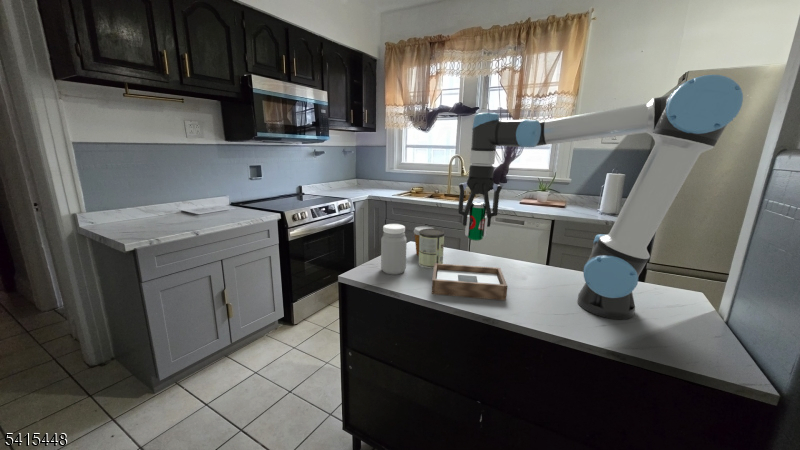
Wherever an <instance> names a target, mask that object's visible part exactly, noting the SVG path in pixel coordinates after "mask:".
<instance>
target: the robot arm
mask: <svg viewBox="0 0 800 450" xmlns="http://www.w3.org/2000/svg"><path fill="white" fill-rule="evenodd" d="M743 102H744V94H743V90H742V88H741V87H740V85H739V83H737V82H736V81H735V80H734V79H732V78H730V77H728V76H726V75H721V74H705V75H701V76H697V77H693V78H691V79H689V80H687V81H684V82H683V83H682V84H680V85H679V86H678V87H677V88H676V89H674V90H673V92H672V93H671V94H668V95H664V96H663V95H662V96H660V97H654V98H651V100H649V102H647V103H641V104H636V105H629V106H625V107H624V106H623V107H618V108H613V109H606V110H600V111H594V112H588V113H587V112H586V113H582V114H576V115H570V116H565V117H563V116H562V117H558V118H551V119H546V120H539V121H538V120H537V119H528V118H526V119H507V120H504V119H500V115H499V114H498V113H495V112H479V113H477V114H475V115H474V117H473V124H472V128H471V129H472V132H471V133H472V134H471V148H470V150H471V151H470V158H469V163H470V165H469V171H468V179H467V181H465V182H463V183H461V182H460V183H458V188H459V198H458V209H457V212H458V214H459V215H461V216H462V225H463V227H464V235H465V237H467V236H468V232H469V221H470V216H469V213H470V207H471V205H472V203H474V199H475V197H476V195H482V196H483V197H482V198H483V203H484V204H485V207H486V212H485V222H484V232H483V238H486V237H487V229H488V227H489V228H490V227H491V220H492V218H493V217H497V216H498V213H499V212H498V210H499V201H500V193H501V191H502V188H503V187H502V186H501V185H500V184H496V183H494V179H493V178H494V169H495V167H494V166H493V165H495V161H496V160H495V159H496V150H497V146H498V147H514V148H515V147H516V148H517V147H518V148H535V147H538V146H539V147H540V146H546V145H554V144H556V145H557V144H565V143H571V142H579V141H588V140H595V139H597V140H598V139H604V138H605V139H606V138H612V137H622V136H632V135H638V134H648V135H650V136H651V137H652V139H653V140H654V145H653V147H652V150H651V151H650V154H649V155H648V157H647V159H646V161H645V163H644V165H643V167H642V169H641V171H640V172H639V174H638V176H637V178H636V180H635V182H634V184H633V186H632V188H631V190H630V192H629V194H628V196H627V198H626V200H625V202H624V204H623V206H622V207H621V209H620V212H619V213H618V216H617V217H616V219H615V222H614V224H613V225H612V227H611V229H610V231H609V233H606V234H605V233H604V234H603V233H600V234H599V233H598V234H596V235H595V237H594V239H593V241H592V243H593V245H592V250H591V253H590V255H589V257H588V260H587V261H586V263H585V264H584V266H583V279H584V282H585V283H584V285H583V286H582V288H581V290H580V291H579V293H578V296H577V304H578V305H579V306H580V308H582V309H583V310H585V311H587V312H589V313H591V314H594V315H595V316H600V317H603V318H607V319H612V320H628V319H632V318H633V317H634V316H635V312H636V306H635V300H634V299H635V298H634V293H633V291H634V290H635V289H636V288H637V286H638V283H639V276H640V274H641V273H642V272H643V269H644V268H645V266H646V264H647V263H648V261H649V259H650V258H651V256H650V253H649V251H648V246H649V244H650V242H651V240H652V239H653V238H654V235H655V234H656V232H657V230H658V228H659V226H660V225H661V223H662V222H663V220H664V219H665V216H666V215H667V213H668V212H669V209H670V207H672V204H673V202H674V201H675V199H676V197H677V195H678V193H679V192H680V190H681V188H682V186H683V184H684V183H685V181H686V179H687V178H688V176H689V174H690V173H691V171H692V169H693V167H694V166H695V164H696V162H697V161H698V159H699V158H700V155H701V154H702V153H705V152H707V151H710V150H712V149H714V148H715V145H716V144H717V142H718V141H719V139H720V138H721V136H722V135H723V132H724V131H725V129H726V127H727V126H728V124H730V123H731V122H733V120H734V119H735V118H736V117H737V116H738V114H739V113H740V111H741V108H742V106H743ZM467 187H468V189H469V190H470V192H469V196H468V198H467V202H466V204H465V207H464V201H465V190H467ZM491 189H493V200H492V210H491V203H490V199H489V191H490V190H491Z"/></svg>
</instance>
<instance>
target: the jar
mask: <svg viewBox="0 0 800 450" xmlns="http://www.w3.org/2000/svg"><path fill="white" fill-rule="evenodd" d="M382 231H383V233H382V236H381V238H380V241H381V242H380V269H381V270H382V271H383V272H384V273H385V274H387V275H400V274H402V273H403V272H404V271H406V268H407V241H408V239H407V237H406V233H405V232H406V226H405V225H403V224H400V223H388V224H384V225H383V227H382Z"/></svg>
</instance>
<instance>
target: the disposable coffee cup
mask: <svg viewBox="0 0 800 450" xmlns="http://www.w3.org/2000/svg"><path fill="white" fill-rule="evenodd" d="M422 229H434V227H430V226H422V225H421V226H416V227H414V230H413V234H414V241H415V252H416V255H417V256H418V257H419V236H420V233H419V231H420V230H422Z"/></svg>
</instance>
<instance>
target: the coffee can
mask: <svg viewBox="0 0 800 450" xmlns="http://www.w3.org/2000/svg"><path fill="white" fill-rule="evenodd" d="M419 233H420V236H419V256H418V265H419V266H420V267H422V268H425V269H434V263H439V264H444V247H445V233H446V232H445V231H444V230H443V229H438V228H433V229H422V230H420V231H419Z"/></svg>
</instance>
